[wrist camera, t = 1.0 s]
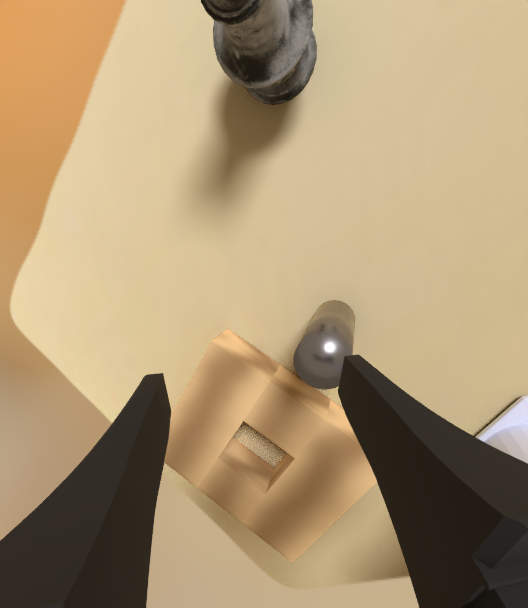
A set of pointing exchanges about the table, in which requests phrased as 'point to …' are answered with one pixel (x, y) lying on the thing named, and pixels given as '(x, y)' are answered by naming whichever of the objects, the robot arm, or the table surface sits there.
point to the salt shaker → (265, 45)
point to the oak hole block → (277, 428)
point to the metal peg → (326, 345)
